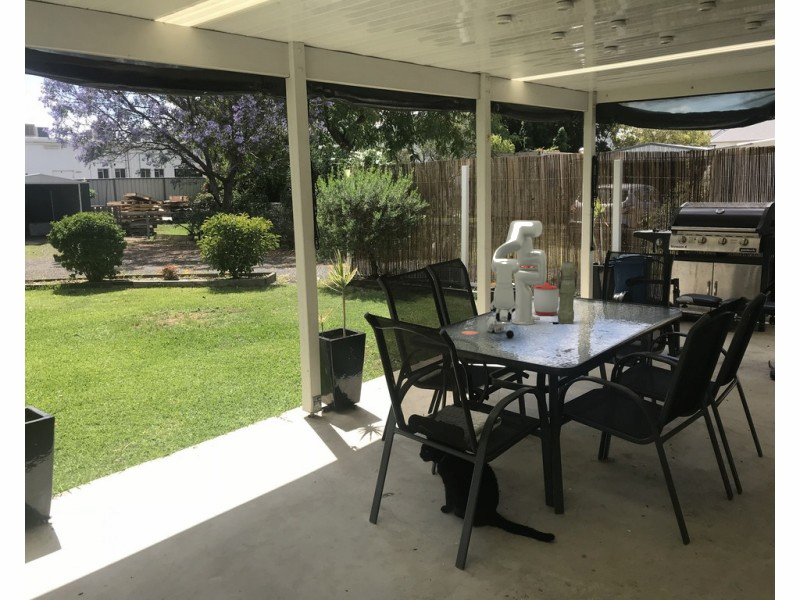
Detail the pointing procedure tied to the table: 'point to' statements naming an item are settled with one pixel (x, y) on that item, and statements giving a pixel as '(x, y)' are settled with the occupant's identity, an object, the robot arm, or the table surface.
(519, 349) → the table surface
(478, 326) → the table surface
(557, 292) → the citrus juicer
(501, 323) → the pipe coupling
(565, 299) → the stone statue
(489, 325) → the mechanical valve
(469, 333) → the gasket pad
